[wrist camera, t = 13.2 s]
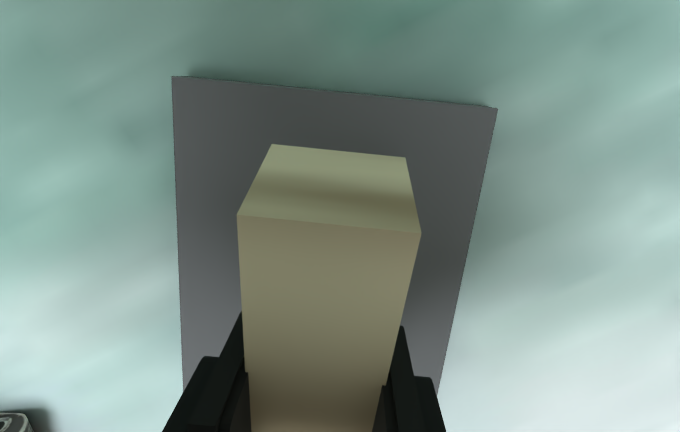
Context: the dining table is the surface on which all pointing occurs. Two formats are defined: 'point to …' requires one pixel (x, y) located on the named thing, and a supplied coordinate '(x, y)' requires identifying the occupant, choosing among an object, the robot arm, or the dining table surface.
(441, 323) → the mat
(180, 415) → the robot arm
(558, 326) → the dining table surface
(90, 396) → the dining table surface
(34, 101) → the dining table surface
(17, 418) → the lighter
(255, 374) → the turner
